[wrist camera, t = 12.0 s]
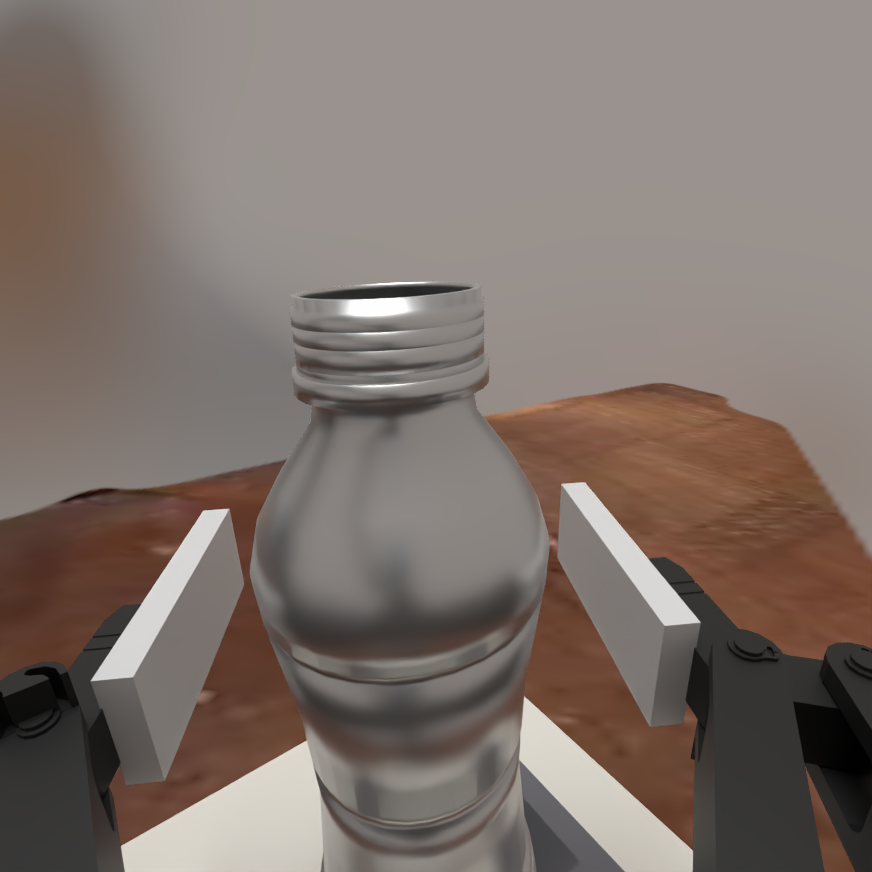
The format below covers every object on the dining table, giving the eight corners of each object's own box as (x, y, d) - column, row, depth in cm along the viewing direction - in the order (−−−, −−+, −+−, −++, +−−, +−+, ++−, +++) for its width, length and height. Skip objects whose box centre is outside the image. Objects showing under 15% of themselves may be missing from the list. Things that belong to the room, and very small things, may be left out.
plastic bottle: (570, 901, 18) (618, 276, 11) (460, 1178, 12) (414, 323, 6) (417, 795, 21) (378, 275, 14) (282, 976, 16) (121, 304, 9)
